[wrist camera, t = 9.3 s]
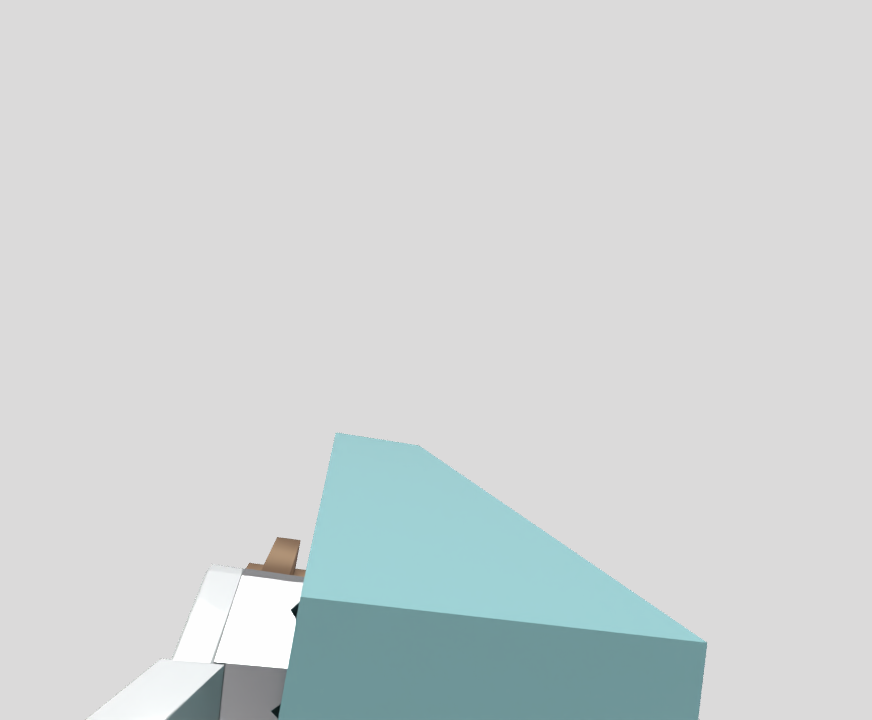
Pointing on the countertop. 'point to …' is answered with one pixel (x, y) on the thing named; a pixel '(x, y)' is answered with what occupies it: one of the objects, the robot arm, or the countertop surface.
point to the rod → (467, 610)
